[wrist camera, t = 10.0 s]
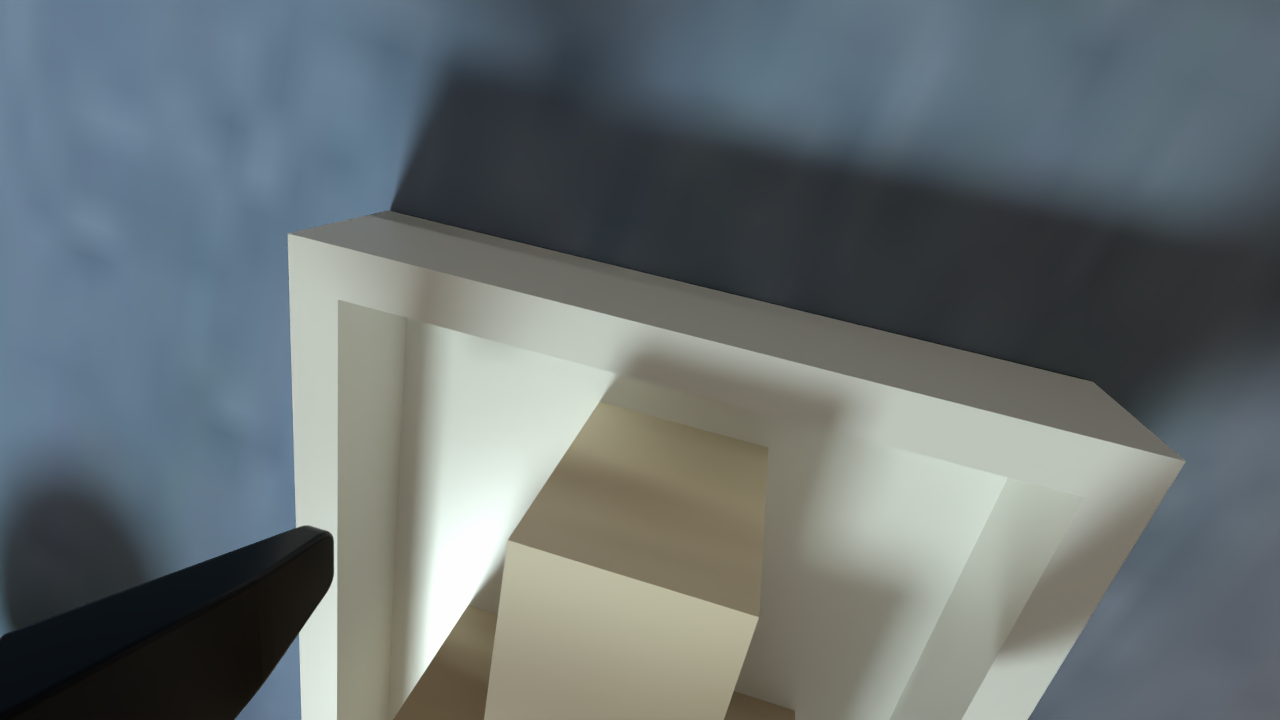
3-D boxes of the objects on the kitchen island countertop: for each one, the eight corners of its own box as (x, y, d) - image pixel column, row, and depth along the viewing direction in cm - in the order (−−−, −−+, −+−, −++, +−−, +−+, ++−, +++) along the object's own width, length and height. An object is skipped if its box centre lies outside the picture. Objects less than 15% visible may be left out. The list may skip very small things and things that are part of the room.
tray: (388, 210, 11) (287, 233, 9) (1093, 381, 10) (1185, 461, 8) (368, 815, 18) (307, 916, 16) (787, 973, 16) (787, 1111, 14)
